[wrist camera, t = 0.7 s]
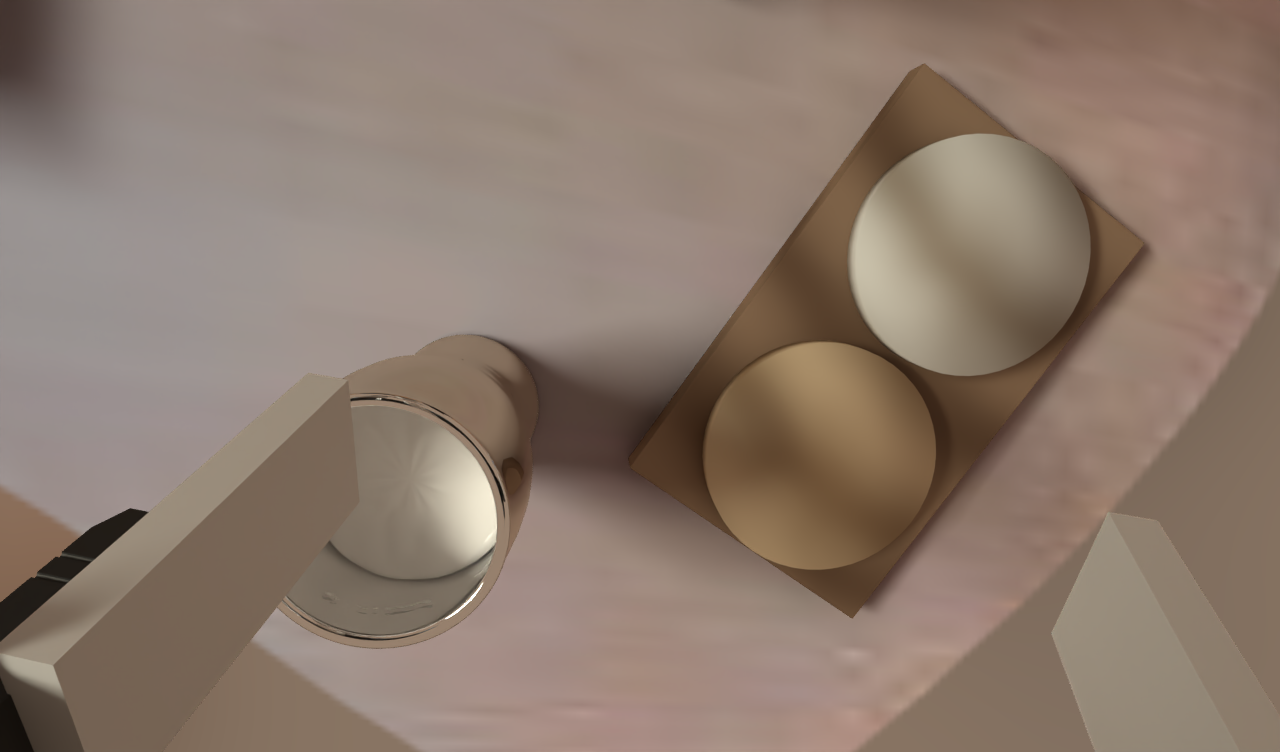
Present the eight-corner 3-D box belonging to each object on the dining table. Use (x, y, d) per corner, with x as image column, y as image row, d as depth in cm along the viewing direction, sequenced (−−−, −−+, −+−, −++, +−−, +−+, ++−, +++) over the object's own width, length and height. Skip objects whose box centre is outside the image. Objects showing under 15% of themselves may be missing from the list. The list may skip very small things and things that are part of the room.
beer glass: (562, 339, 34) (540, 411, 20) (534, 495, 35) (494, 676, 21) (396, 309, 34) (245, 360, 19) (373, 469, 35) (212, 636, 20)
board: (909, 71, 33) (937, 56, 31) (1121, 243, 35) (1164, 243, 32) (628, 458, 35) (631, 475, 33) (841, 603, 37) (861, 631, 34)
